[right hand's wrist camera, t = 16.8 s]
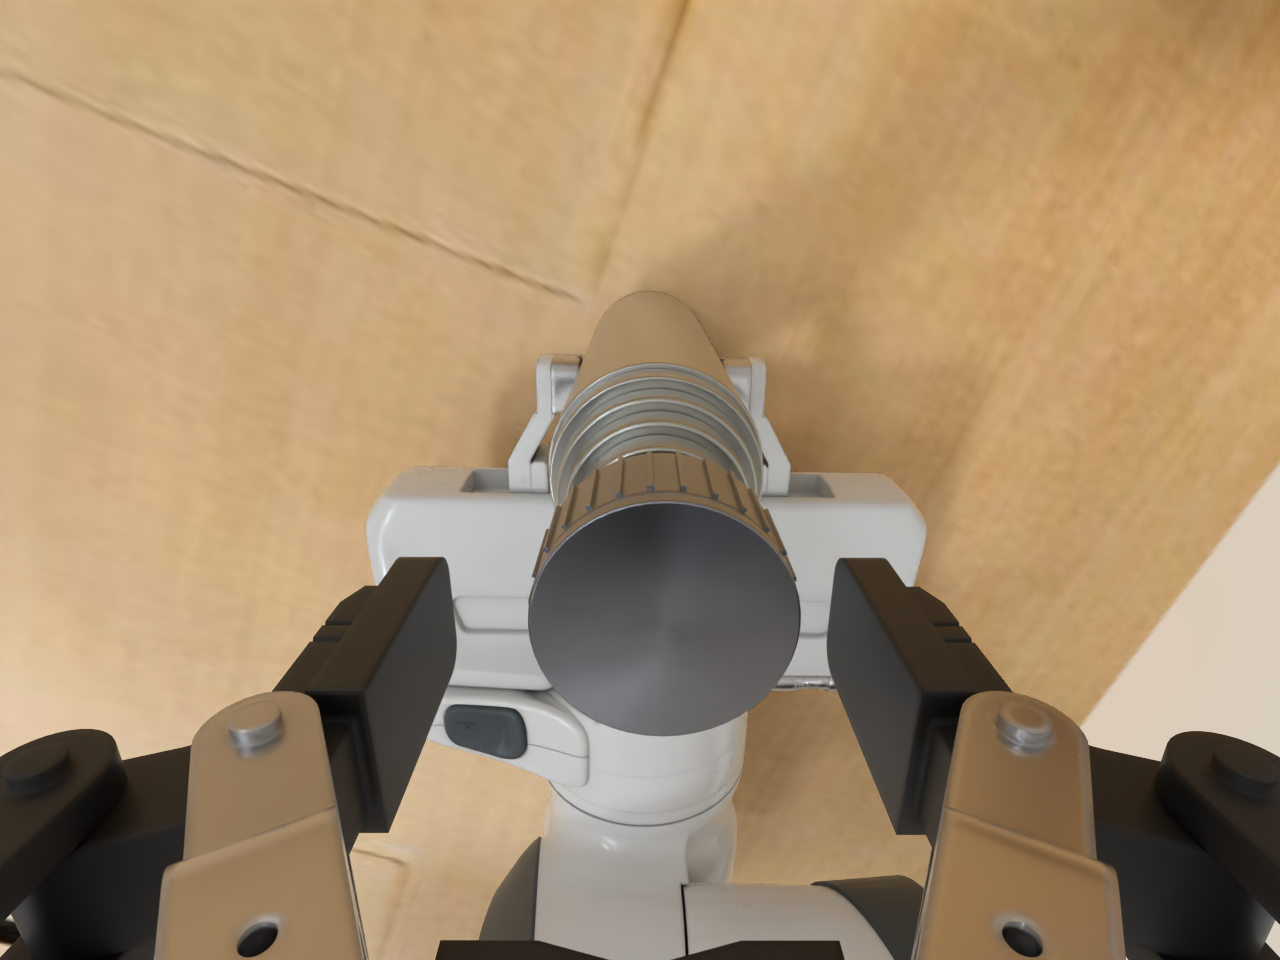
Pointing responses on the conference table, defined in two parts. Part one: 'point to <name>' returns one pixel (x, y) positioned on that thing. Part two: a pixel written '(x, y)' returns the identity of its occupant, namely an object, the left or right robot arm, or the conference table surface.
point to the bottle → (651, 398)
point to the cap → (663, 597)
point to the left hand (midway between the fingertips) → (649, 357)
